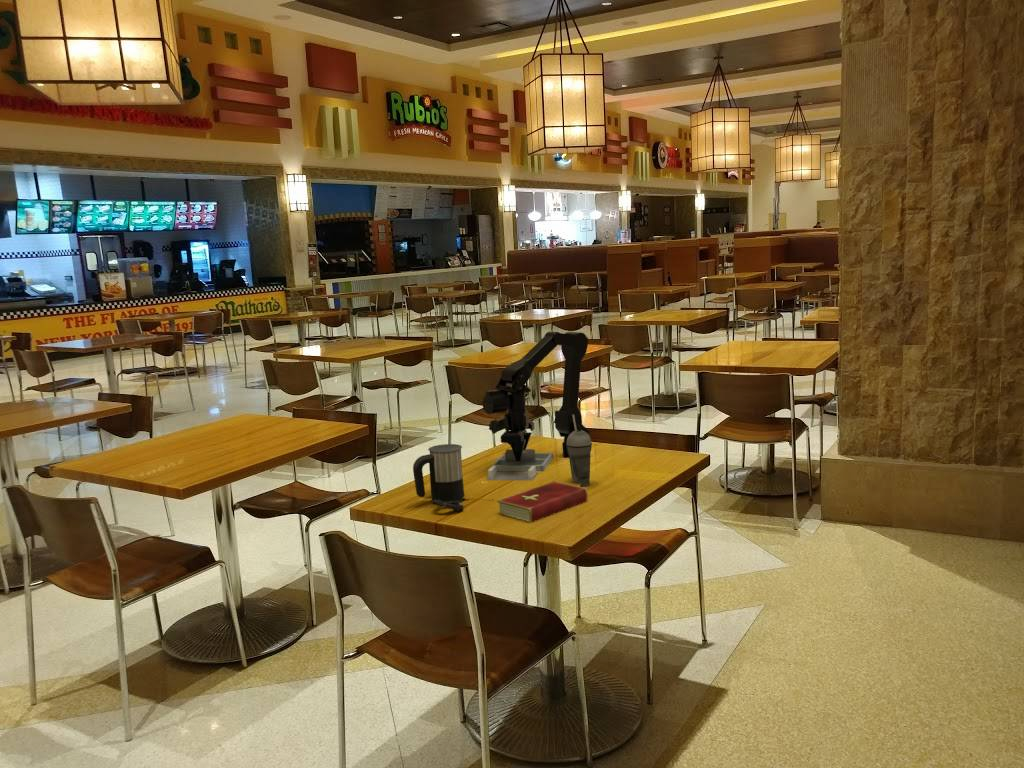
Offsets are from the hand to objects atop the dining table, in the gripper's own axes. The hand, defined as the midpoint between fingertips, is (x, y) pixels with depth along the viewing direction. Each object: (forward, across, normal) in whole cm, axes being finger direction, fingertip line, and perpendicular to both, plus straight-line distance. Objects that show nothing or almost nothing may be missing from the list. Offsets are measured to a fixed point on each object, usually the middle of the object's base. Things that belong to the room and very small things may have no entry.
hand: (519, 459), depth 251 cm
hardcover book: (+4, +35, +14) cm, 38 cm away
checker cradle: (+4, +10, 0) cm, 11 cm away
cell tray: (+4, -4, 0) cm, 5 cm away
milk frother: (+4, +34, -11) cm, 36 cm away
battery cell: (+1, 0, 0) cm, 1 cm away
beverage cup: (+4, +14, +21) cm, 26 cm away
